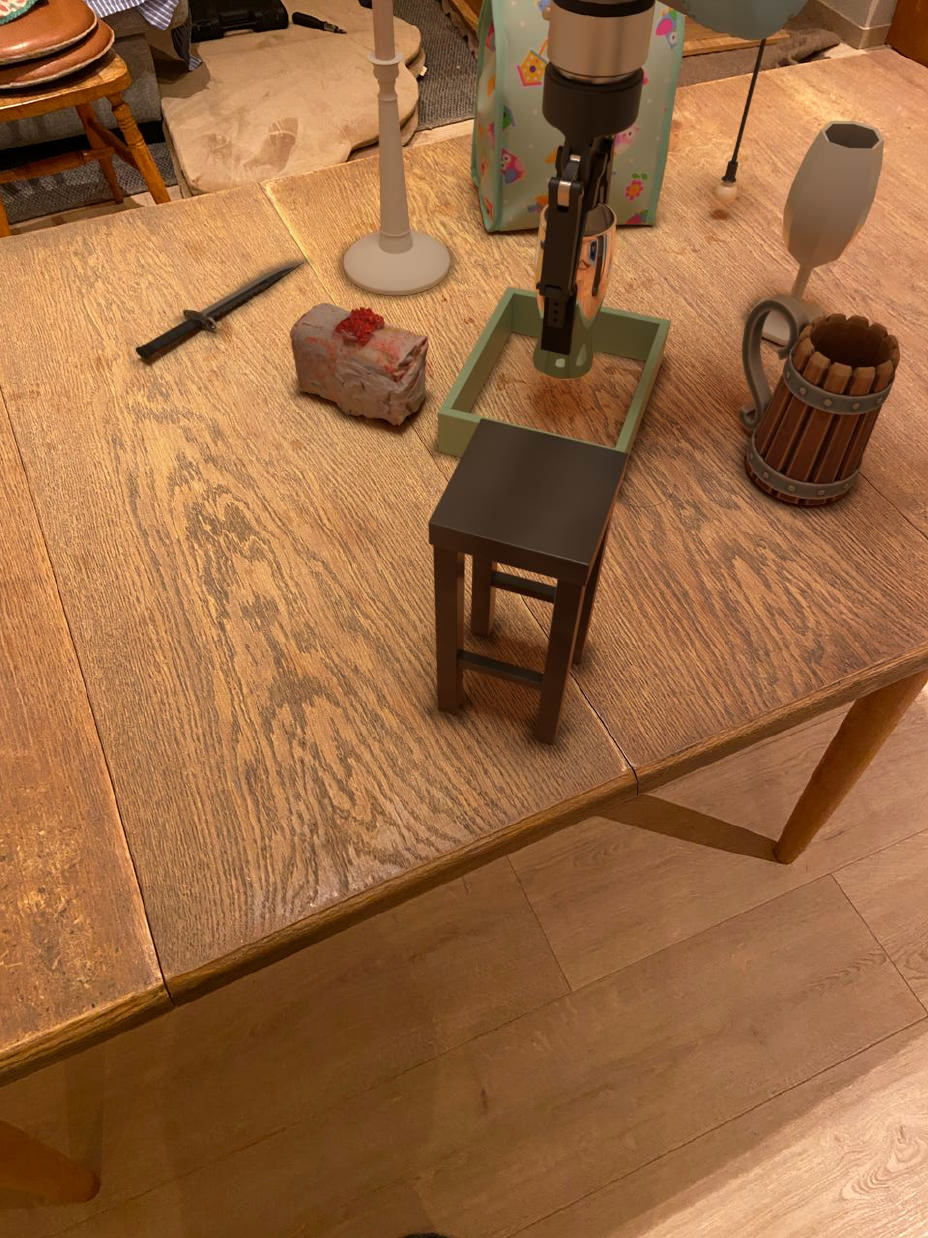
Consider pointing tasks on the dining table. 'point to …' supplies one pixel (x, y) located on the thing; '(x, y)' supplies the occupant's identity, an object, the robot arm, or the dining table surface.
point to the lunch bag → (527, 144)
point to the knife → (212, 311)
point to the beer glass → (579, 294)
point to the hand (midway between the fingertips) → (566, 326)
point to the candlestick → (393, 193)
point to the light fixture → (738, 142)
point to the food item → (360, 362)
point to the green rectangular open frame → (520, 316)
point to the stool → (521, 552)
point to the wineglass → (827, 206)
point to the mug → (814, 401)
